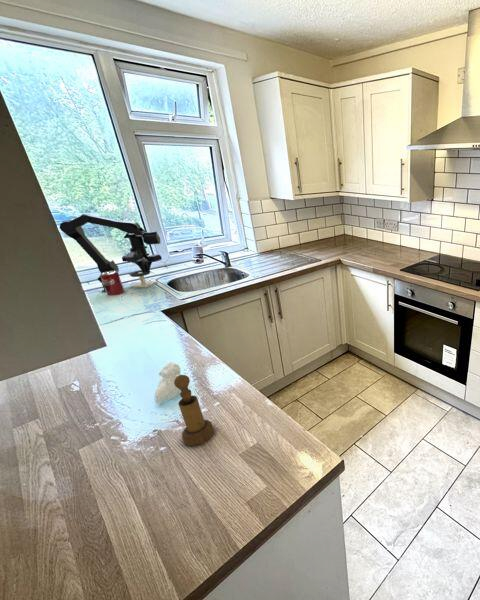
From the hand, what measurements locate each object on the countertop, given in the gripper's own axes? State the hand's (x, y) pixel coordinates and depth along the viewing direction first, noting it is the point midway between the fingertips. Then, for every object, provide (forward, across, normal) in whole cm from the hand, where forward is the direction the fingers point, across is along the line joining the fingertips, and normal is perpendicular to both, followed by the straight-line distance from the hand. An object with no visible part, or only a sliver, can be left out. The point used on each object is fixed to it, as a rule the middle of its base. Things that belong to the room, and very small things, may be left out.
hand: (146, 272), depth 184 cm
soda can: (+8, -8, -14) cm, 18 cm away
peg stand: (+8, -4, 0) cm, 9 cm away
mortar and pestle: (+8, +99, -106) cm, 145 cm away
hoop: (0, -4, 0) cm, 4 cm away
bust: (+8, +81, -91) cm, 122 cm away
